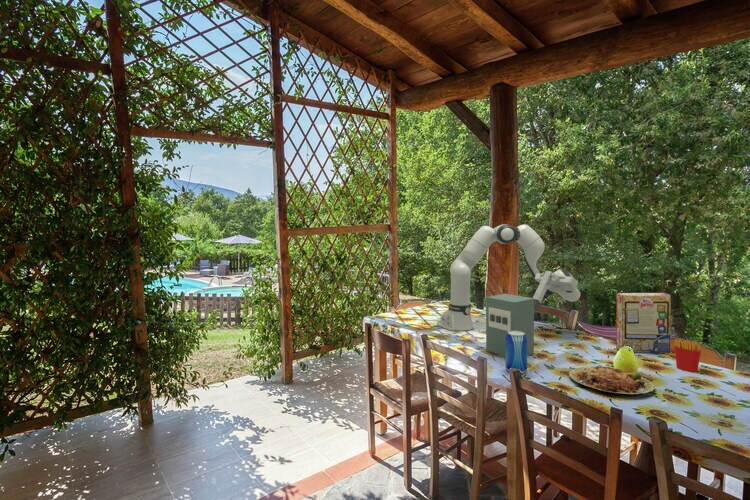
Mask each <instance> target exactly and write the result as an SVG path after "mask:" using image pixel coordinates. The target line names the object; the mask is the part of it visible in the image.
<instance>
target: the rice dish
mask: <svg viewBox="0 0 750 500" xmlns="http://www.w3.org/2000/svg"><path fill="white" fill-rule="evenodd" d="M568 376H569V377H570V378H571V379H572V380H573V381H575V382H577V383H578V384H581V385H584V386H586V387H589V388H592V389H595V390H597V391H601V392H606V393H613V394H622V395H623V394H625V395H640V394H648V393H650V392H653V391H654V390H655V389H656V388H655V384H654V383H653V382H652V381H650V379H647V378H646V377H643V376H641V374H640V373H637V372H629V371H625V370H622V369H621V368H614V367H610V366H602V365H600V364H599V365H594V366H582V367H575V368H573V369H571V370H568Z"/></svg>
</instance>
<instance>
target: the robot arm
mask: <svg viewBox="0 0 750 500" xmlns="http://www.w3.org/2000/svg"><path fill="white" fill-rule="evenodd" d="M495 242H498V243H499V244H502V245H503V244H504V245H506V244H507V245H508V244H512V243H514V242H516V243H518V244H519V246H520V247H521V248H522V250H523V252H524V254H525V256H524V257H523V259H524V261H525V265H526V266H527V268H528V271H529V272H530V275H531V276H532V279H534V281H535V283H536V285H537V287H538V286H539V284H540V282H541V280H542V278H543V276H544V274H545V272H546V271H545V272H542V273H541V272H540V271H539V269H538V268H537V262H538V260H539V259H540V258H541V256H542V255H543V253H544V251H545V248H546V246H545V242H544V240H543V239H542V238H541V237H540V235H539V234H538V233H537V231H535V230H534V229H533V228H532V227H530V225H528V224H521V225H518V226H513V225H511V224H507V223H502V224H500V225H497V226H495V227H491V226H488V225H483V226H481V227H480V228H479V229H478V230H477V231H476V232H475V233H474V234H473V235H472V237H471V238H470V239H469V241H468V242H467V244H466V245H465V247H464V248H463V250H462V251H461V252H460V253H459V254H458V256H456V258H455V260H454V261H453V262H451V265H450V267H449V272H450V303H447V307H448V309H447V310H445V311H444V312H443V313H442V314H441V315H440V320H439V321H437V322H436V324H437V325H436V326H438V325H439V326H438V327H440V328H443V329H445V330H448V331H463V332H464V331H470V330H473V329H474V327H473V322H472V315H471V310H472V309H471V308H472V305H471V277H472V275H471V274H472V272H471V271H472V270H473V268H474V267H475V266H476V265H477V263H478V262H479V261H481V259H482V258H483V256H484V255H485V253H486V252H487V251H488V249H489V248H490V246H491V245H492V244H493V243H495ZM550 277H552V280H551V282H550V284H549V286H548V288H547V290H546V292H545V294H544V296H546V297H552V296H553V295H554V294H558V295H560V297H561V298H563V299H564V300H566V301H568V302H576V301H578V300H579V299H580V298H581V292H580V289H578V284H579V281H578V280H577V279H576V278H575V277H574V276H573V274H572V273H570V271H568V270H567V269H564V268H560V269H557V270H556V271H554V272H552V273H550Z"/></svg>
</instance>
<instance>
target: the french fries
mask: <svg viewBox="0 0 750 500" xmlns="http://www.w3.org/2000/svg"><path fill="white" fill-rule="evenodd" d="M673 341H674V344H675V346H674V353H675V354H674V355H675V364H676V369H678V370H681V371H685V372H689V373H695V374H696V373H698V371H699V365H700V358H701V353H702V350H701V343H700V344H699V343H697V342H696V341H690V340H686V339H685V340H682V339H681V338H680V339H675V338H674V340H673Z"/></svg>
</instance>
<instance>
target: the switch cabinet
mask: <svg viewBox="0 0 750 500" xmlns="http://www.w3.org/2000/svg"><path fill="white" fill-rule="evenodd" d="M485 310H486V311H485V326H486V327H485V328H486V329H485V330H486V331H485V332H486V333H485V339H486V340H485V341H486V342H485V343H486V344H485V346H486V348H485V349H486V350H485V351H487V352H489V353H492V354H495V355H498V356H501V357H504V358H505V337H506V336H507V334H508V332H509V331H521V332H524V333H525V336H526V338H527V357H528V356H530V355H533V354H534V353H535V345H534V344H535V343H534V342H535V310H534V298H533V297H528V296H521V295H517V294H516V295H515V294H510V293H502V294H495V295H491V296H490V295H489V296H485Z"/></svg>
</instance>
